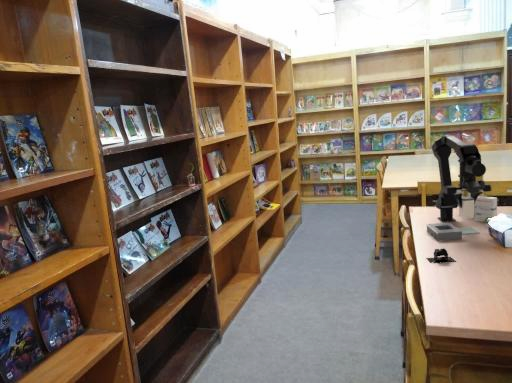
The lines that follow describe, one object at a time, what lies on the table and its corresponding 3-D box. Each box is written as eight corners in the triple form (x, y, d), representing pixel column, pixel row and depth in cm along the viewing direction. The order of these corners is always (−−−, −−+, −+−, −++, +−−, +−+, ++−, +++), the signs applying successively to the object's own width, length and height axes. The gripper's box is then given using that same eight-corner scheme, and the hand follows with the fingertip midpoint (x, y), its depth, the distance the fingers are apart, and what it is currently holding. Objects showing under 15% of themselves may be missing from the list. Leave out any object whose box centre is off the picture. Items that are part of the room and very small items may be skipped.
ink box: (497, 220, 193) (498, 196, 190) (493, 223, 190) (493, 199, 187) (478, 218, 199) (478, 195, 197) (473, 220, 196) (474, 197, 194)
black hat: (454, 257, 156) (454, 245, 155) (462, 264, 149) (462, 252, 148) (421, 259, 157) (420, 247, 156) (427, 266, 150) (427, 254, 149)
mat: (453, 229, 186) (453, 228, 186) (471, 228, 185) (471, 227, 185) (461, 234, 178) (461, 233, 178) (479, 233, 178) (479, 232, 178)
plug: (459, 216, 183) (459, 197, 181) (469, 215, 183) (469, 196, 181) (463, 218, 179) (463, 199, 177) (473, 218, 178) (474, 198, 177)
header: (426, 231, 187) (426, 224, 186) (449, 229, 186) (449, 222, 186) (437, 240, 173) (437, 233, 173) (462, 239, 173) (462, 231, 172)
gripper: (452, 177, 170) (452, 213, 173) (498, 174, 168) (497, 210, 171) (442, 173, 181) (442, 207, 184) (485, 170, 179) (484, 204, 182)
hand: (466, 207), depth 180 cm, fingers closed on plug, 4 cm apart
